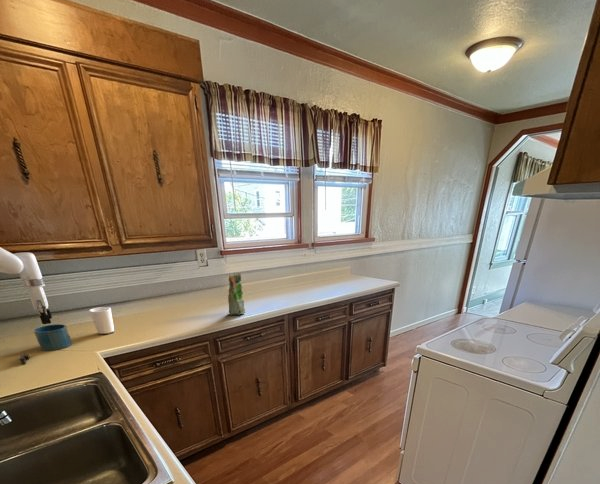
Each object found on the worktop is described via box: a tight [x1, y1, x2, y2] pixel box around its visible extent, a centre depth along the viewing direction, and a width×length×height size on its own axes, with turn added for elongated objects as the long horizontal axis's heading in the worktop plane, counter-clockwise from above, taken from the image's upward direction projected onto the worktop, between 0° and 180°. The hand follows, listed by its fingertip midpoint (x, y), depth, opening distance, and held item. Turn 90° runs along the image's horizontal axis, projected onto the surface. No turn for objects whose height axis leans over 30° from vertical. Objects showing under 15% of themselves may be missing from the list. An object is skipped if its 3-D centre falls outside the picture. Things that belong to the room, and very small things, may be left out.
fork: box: [19, 353, 31, 366], centre depth 139 cm, size 10×3×3 cm, turn 32°
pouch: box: [227, 272, 246, 316], centre depth 202 cm, size 11×12×25 cm
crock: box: [33, 323, 73, 352], centre depth 154 cm, size 12×12×9 cm
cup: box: [88, 306, 115, 336], centre depth 171 cm, size 10×10×13 cm
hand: (47, 321), depth 150 cm, fingers open, 9 cm apart
